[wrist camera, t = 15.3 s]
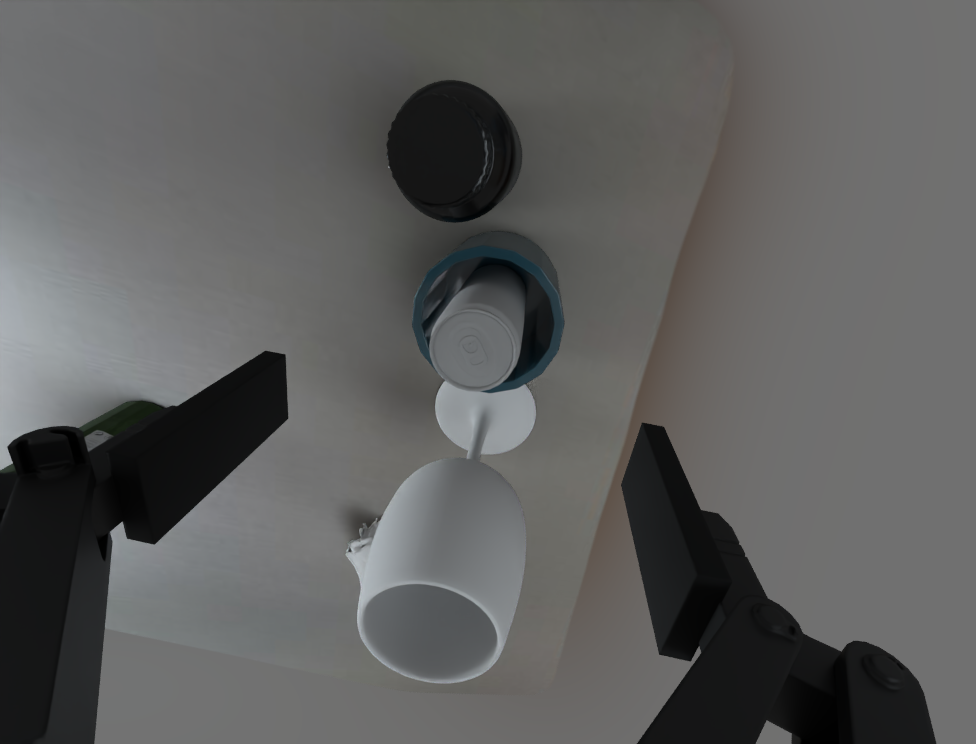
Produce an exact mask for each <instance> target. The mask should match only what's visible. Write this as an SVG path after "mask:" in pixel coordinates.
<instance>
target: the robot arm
mask: <svg viewBox="0 0 976 744" xmlns="http://www.w3.org/2000/svg"><path fill="white" fill-rule="evenodd" d="M287 419H288V402H287V379H286V356H285V354H280V353H275V352H269V351H264V352H263V353H261V354H260V355H258V356H256V357H255V358H253V359H252V360H250V361H248V362H247V363H245V364H244V365H242V366H241V367H239V368H237V369H236V370H234V371H233V372H231V373H229V374H228V375H226V376H225V377H223V378H221V379H220V380H218V381H217V382H215V383H214V384H212V385H210V386H209V387H207V388H206V389H204V390H202V391H201V392H199V393H198V394H196V395H194V396H193V397H191V398H190V399H188V400H187V401H185V402H183V403H182V404H180V405H179V406H170V407H167V408H164V409H161V410H158V411H156V412H153V413H151V414H150V415H148V416H146V417H145V418H143V419H141V420H140V421H138V423H137V424H136V423H135V424H133V425H131V426H130V427H128V428H126V430H125V431H122V432H120V433H118V434H117V435H115V436H113V437H112V438H110V439H108V440H107V441H105V442H103V443H102V444H100V445H98V446H97V447H95V448H93V449H92V450H90V451H89V452H88V449H87V445H86V441H85V438H84V434H83V431H82V430H80V429H78V428H76V427H69V426H56V427H48V428H43V429H38V430H35V431H32V432H29V433H27V434H24V435H22V436H20V437H18V438H17V439H15V440H13V441H12V442H11V443H10V445H9V446H8V447H7V448H8V451H9V453H10V456H11V459H12V462H13V465H14V467H15V470H16V472H9V473H0V744H94V740H95V729H96V718H97V707H98V696H99V685H100V673H101V663H102V651H103V640H104V630H105V619H106V607H107V596H108V585H109V574H110V563H111V552H112V538H111V535H110V531H111V530H112V529H114V528H115V527H116V526H117V525H119V524H120V523H121V522H122V521H123V525H124V529H125V533H126V537H127V539H131V540H136V541H141V542H145V543H150V544H154V545H155V544H156V543H157V542H158V541H159V540H160V539H161V538H162V537H163V536H164V535H165V534H166V533H167V532H168V531H169V530H171V529H172V528H173V527H174V526H175V525H176V524H177V523H178V522H179V521H180V520H181V519H182V518H183V517H184V516H185V515H186V514H188V513H189V512H190V511H191V510H192V509H193V508H194V507H195V506H196V505H197V504H198V503H199V502H200V501H201V500H202V499H203V498H204V497H206V496H207V495H208V494H209V493H210V492H211V491H212V490H213V489H214V488H215V487H216V486H217V485H218V484H219V483H220V482H221V481H223V480H224V479H225V478H226V477H227V476H228V475H229V474H230V473H231V472H232V471H233V470H234V469H235V468H236V467H237V466H238V465H240V464H241V463H242V462H243V461H244V460H245V459H246V458H247V457H248V456H249V455H250V454H251V453H252V452H253V451H254V450H255V449H256V448H258V447H259V446H260V445H261V444H262V443H263V442H264V441H265V440H266V439H267V438H268V437H269V436H270V435H271V434H272V433H273V432H275V431H276V430H277V429H278V428H279V427H280V426H281V425H282V424H283V423H284V422H285V421H286V420H287ZM621 486H622V491H623V495H624V500H625V503H626V508H627V513H628V518H629V522H630V527H631V531H632V535H633V540H634V544H635V549H636V553H637V558H638V562H639V567H640V571H641V575H642V580H643V584H644V589H645V593H646V598H647V602H648V607H649V611H650V615H651V620H652V625H653V629H654V633H655V637H656V642H657V647H658V651H659V655H664V656H668V657H673V658H677V659H682V660H687V661H691V660H692V658H693V656H694V654H695V652H696V650H697V648H698V647H699V646H700V649H701V654H700V656H699V657H698V659H697V660H696V661H695V663H694V664H693V666H692V667H691V668H690V670H689V671H688V673H687V674H686V675H685V677H684V678H683V680H682V681H681V682H680V684H679V685H678V687H677V688H676V690H675V691H674V693H673V694H672V695H671V697H670V698H669V699H668V701H667V702H666V704H665V705H664V706H663V708H662V709H661V711H660V712H659V714H658V715H657V716H656V718H655V719H654V721H653V722H652V723H651V725H650V726H649V728H648V729H647V730H646V732H645V734H644V735H643V736H642V738H641V739H640V740H639V742H638V743H637V744H756V741H757V739H758V737H759V735H760V733H761V731H762V729H763V727H764V724H765V722H766V720H768V721H769V722H771V723H773V724H775V725H777V726H779V727H781V728H783V729H784V730H786V731H788V732H790V733H792V744H936V741H935V737H934V732H933V728H932V724H931V720H930V717H929V713H928V708H927V704H926V700H925V696H924V693H923V690H922V688H921V686H920V684H919V682H918V680H917V679H916V678H915V677H914V676H913V674H912V673H911V672H910V671H909V669H908V668H906V667H905V666H904V665H903V664H902V663H901V662H900V661H899V660H897V659H896V658H895V657H894V656H892V655H891V654H889V653H887V652H886V651H884V650H883V649H881V648H879V647H877V646H874V645H872V644H869V643H867V642H861V641H853V642H851V643H849V644H847V645H846V647H845V648H844V649H843V650H842V652H841V651H838V650H837V649H835V648H832V647H830V646H828V645H826V644H824V643H822V642H819V641H817V640H815V639H813V638H811V637H809V636H807V635H805V634H803V632H802V630H801V628H800V626H799V624H798V622H797V621H796V620H795V619H794V618H793V616H792V615H791V614H790V613H789V612H788V611H786V610H785V609H784V608H783V607H782V606H780V605H779V604H777V603H775V602H773V601H772V600H770V599H768V598H767V596H766V594H765V592H764V590H763V588H762V586H761V584H760V582H759V580H758V578H757V576H756V574H755V572H754V570H753V568H752V566H751V564H750V562H749V560H748V558H747V557H745V553H744V551H743V549H742V547H741V545H739V541H738V539H737V537H736V535H735V533H734V531H733V529H732V527H731V526H729V524H728V523H727V522H726V521H725V520H724V519H723V518H722V517H721V516H720V515H719V514H718V513H713V512H708V511H703V510H701V509H700V507H699V505H698V503H697V500H696V498H695V496H694V494H693V492H692V489H691V487H690V485H689V482H688V480H687V478H686V476H685V473H684V471H683V469H682V467H681V465H680V462H679V460H678V457H677V455H676V453H675V451H674V449H673V446H672V444H671V442H670V440H669V437H668V435H667V433H666V430H665V428H664V427H662V426H657V425H652V424H647V423H642V425H641V427H640V430H639V433H638V436H637V439H636V442H635V445H634V448H633V451H632V454H631V457H630V460H629V463H628V466H627V469H626V472H625V475H624V478H623V481H622V484H621Z"/></svg>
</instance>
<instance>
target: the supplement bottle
mask: <svg viewBox="0 0 976 744" xmlns="http://www.w3.org/2000/svg"><path fill="white" fill-rule="evenodd" d="M388 138H389V140H388V142H387V144H386V145H387V149H388V152H387V158H388V160H389V168H390V169H391V171H392V177H393V178H394V179H395V181H396V183H397V185H398V187H399V189H400V190H401V192H402V193H403V195H404V196H405V198H406V199H407V200H408V201H409V202H410V203H411V204H412V205H413V206H414V207H415V208H416V209H418V210H419V211H420V212H422V213H423V214H425V215H427V216H429V217H431V218H433V219H436V220H439V221H443V222H453V223H456V222H465V221H469V220H473V219H475V218H478V217H480V216H482V215H484V214H486V213H487V212H489V211H490V210H491V209H492V208H494V207H495V206H496V205H497V204H498V203H500V202H501V201H502V200H503V199H504V198H505V197H506V196H507V195H508V194H509V192H510V191H511V190H512V188H513V187H514V185H515V183H516V181H517V179H518V176H519V173H520V169H521V164H522V148H521V142H520V138H519V135H518V133H517V130H516V128H515V126H514V124H513V123H512V121H511V120H510V118H509V117H508V115H507V114H506V113H505V111H504V110H503V108H502V107H501V106H500V105H499V104H498V102H497V101H496V100H495V99H494V98H493V97H492V96H490V95H489V94H488V93H487V92H485V91H484V90H482V89H480V88H479V87H477V86H475V85H472V84H469V83H467V82H462V81H456V80H445V81H439V82H434V83H432V84H429V85H427V86H425V87H423V88H421V89H419V90H418V91H416V92H415V93H414V94H413V95H412V96H411V97H410V98H409V99H408V100H407V101H406V102H405V103H404V104H403V106H402V107H401V109H400V110H399V112H398V113H397V116H396V118H395V120H394V121H393V122H392V125H391V130H390V131H389V133H388Z"/></svg>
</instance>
